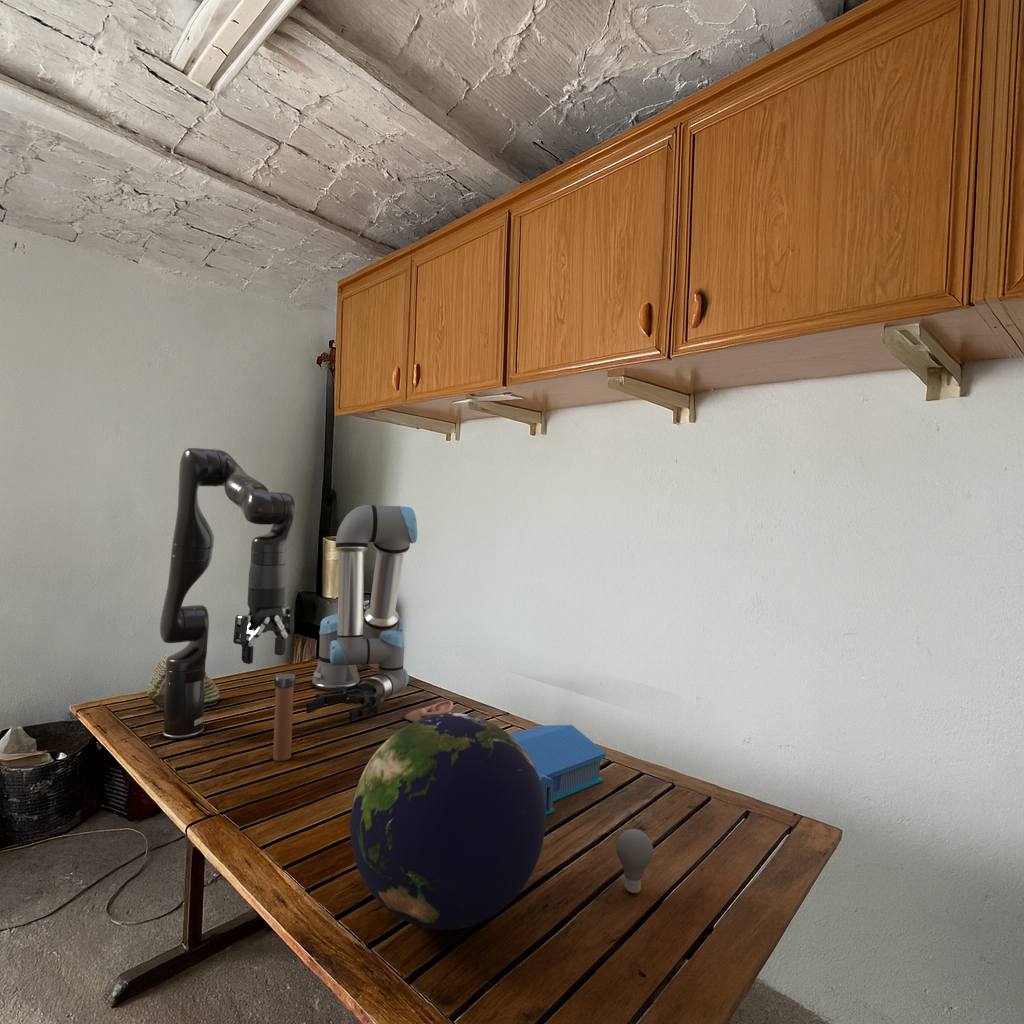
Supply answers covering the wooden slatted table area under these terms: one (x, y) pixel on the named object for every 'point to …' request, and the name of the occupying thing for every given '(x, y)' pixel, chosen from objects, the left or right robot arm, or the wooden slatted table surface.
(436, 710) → the anatomical model
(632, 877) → the light bulb
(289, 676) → the lid
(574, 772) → the model building
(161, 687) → the fossil
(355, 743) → the wooden slatted table surface
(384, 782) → the globe
